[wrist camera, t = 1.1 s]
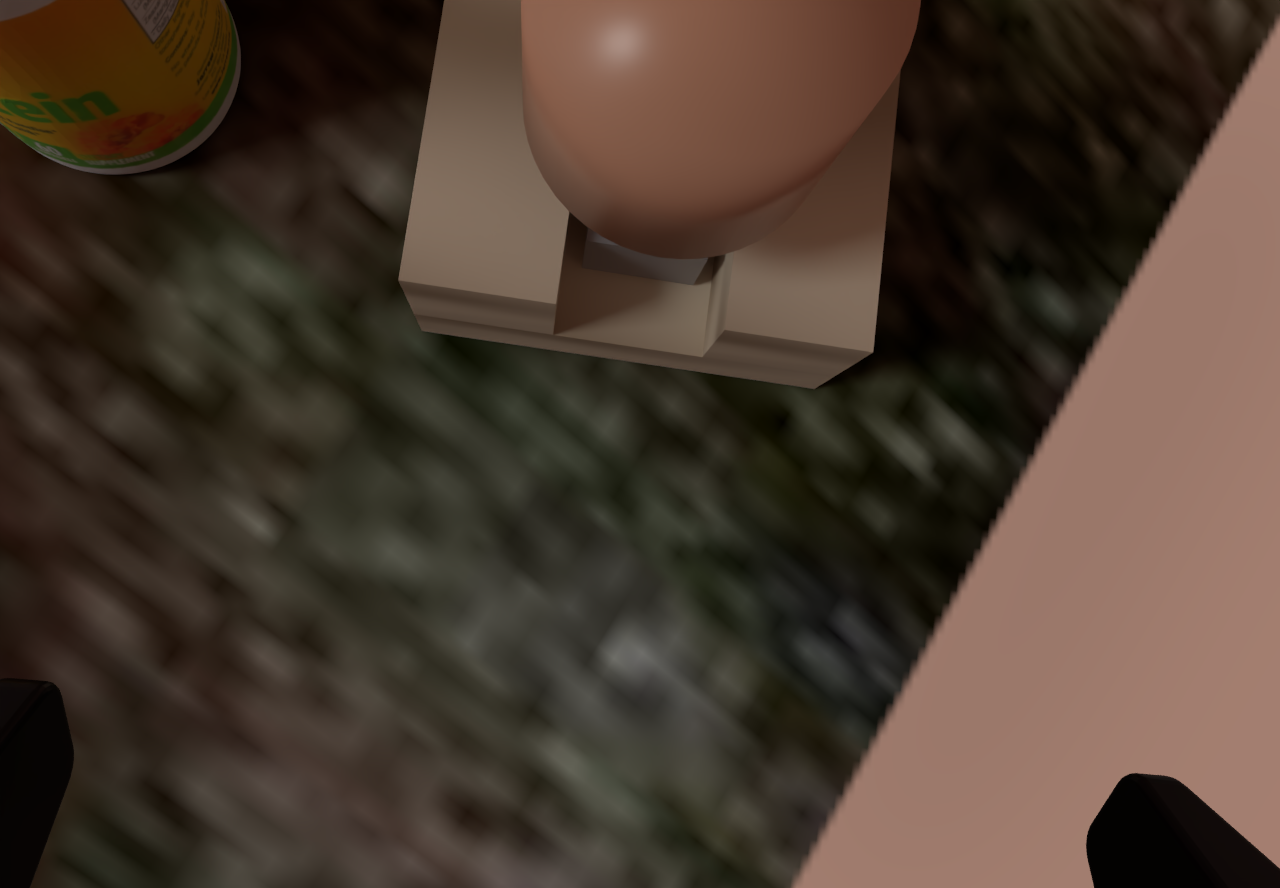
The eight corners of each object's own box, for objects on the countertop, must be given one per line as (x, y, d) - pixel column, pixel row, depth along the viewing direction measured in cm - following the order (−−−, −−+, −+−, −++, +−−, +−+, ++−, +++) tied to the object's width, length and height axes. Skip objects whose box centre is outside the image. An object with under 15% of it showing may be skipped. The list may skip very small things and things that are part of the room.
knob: (750, 344, 21) (902, 192, 13) (507, 308, 21) (492, 124, 12) (776, 116, 22) (938, -177, 13) (542, 75, 22) (550, -256, 13)
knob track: (814, 388, 23) (872, 352, 19) (422, 330, 22) (398, 279, 18) (852, 26, 24) (915, -78, 20) (481, -41, 23) (471, -164, 19)
